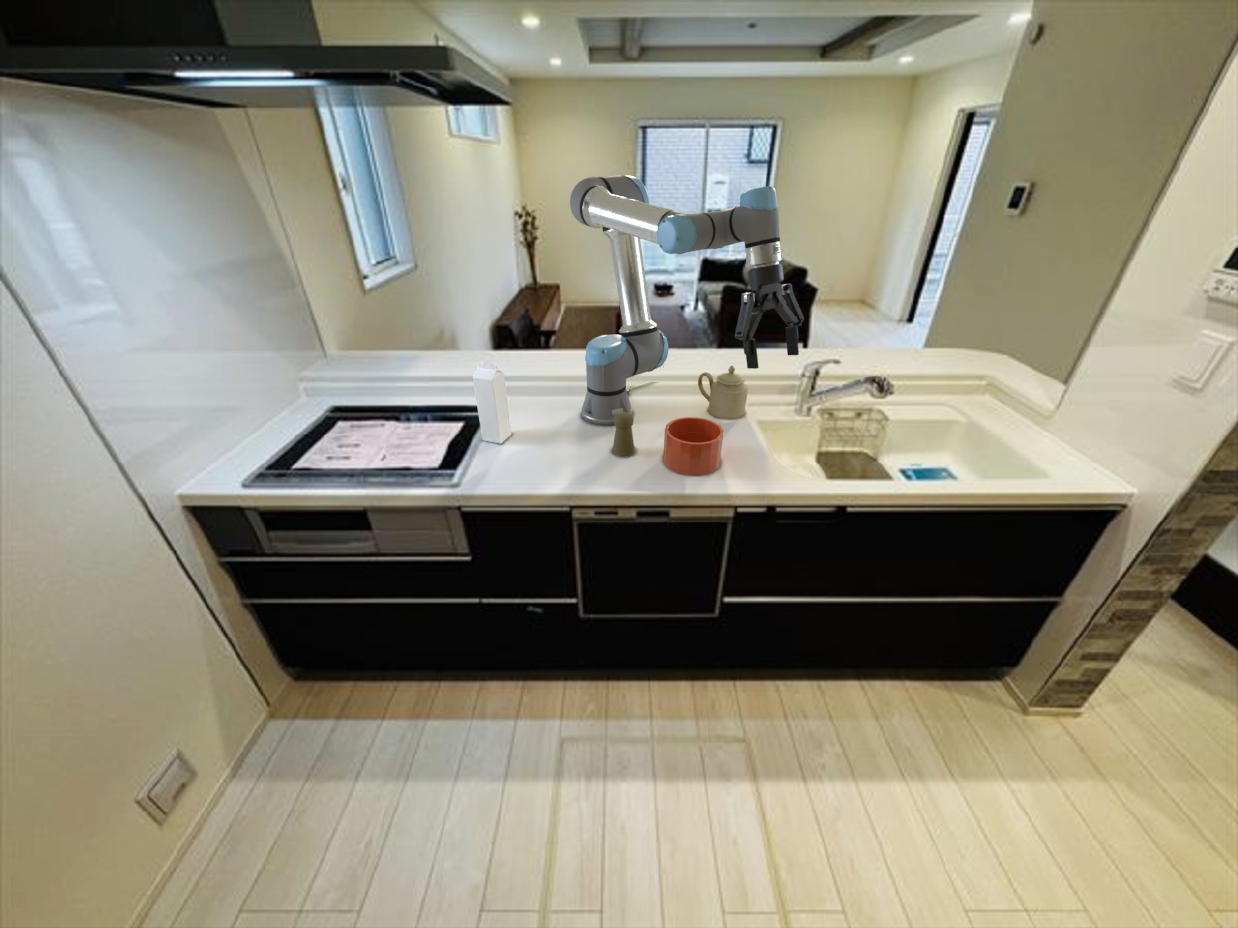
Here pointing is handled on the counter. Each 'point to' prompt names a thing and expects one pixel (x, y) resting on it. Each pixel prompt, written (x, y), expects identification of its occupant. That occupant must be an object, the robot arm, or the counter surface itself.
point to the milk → (492, 403)
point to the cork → (623, 435)
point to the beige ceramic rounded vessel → (725, 394)
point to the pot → (692, 445)
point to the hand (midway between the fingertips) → (773, 361)
